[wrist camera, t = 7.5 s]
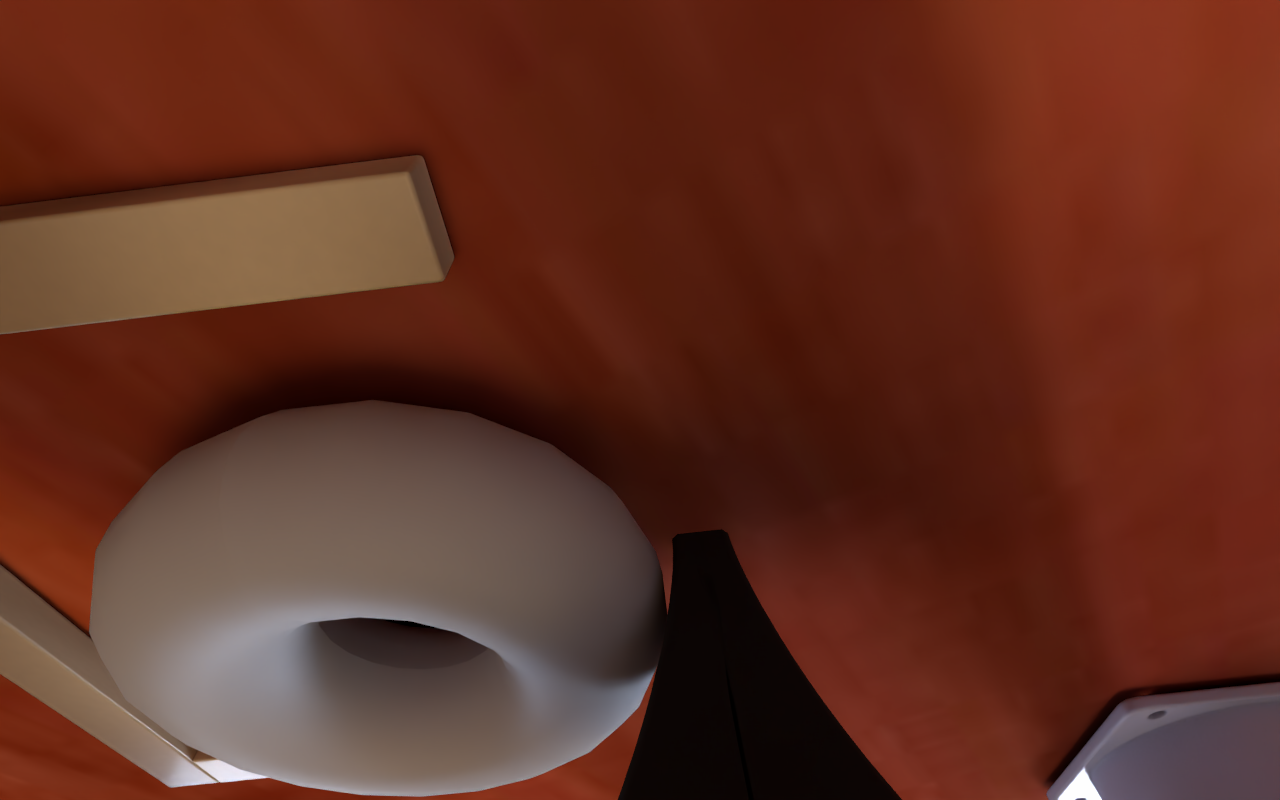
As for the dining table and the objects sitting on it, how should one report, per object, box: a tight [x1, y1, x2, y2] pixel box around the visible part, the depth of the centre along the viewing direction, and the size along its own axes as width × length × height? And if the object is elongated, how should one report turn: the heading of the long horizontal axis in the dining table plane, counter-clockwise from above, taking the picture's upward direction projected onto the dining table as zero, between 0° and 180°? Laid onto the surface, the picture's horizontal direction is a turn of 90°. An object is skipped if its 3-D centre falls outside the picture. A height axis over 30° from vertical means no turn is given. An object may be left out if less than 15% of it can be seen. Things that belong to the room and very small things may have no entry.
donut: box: [89, 400, 667, 796], centre depth 11 cm, size 10×3×10 cm
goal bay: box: [0, 155, 454, 787], centre depth 13 cm, size 12×16×1 cm
